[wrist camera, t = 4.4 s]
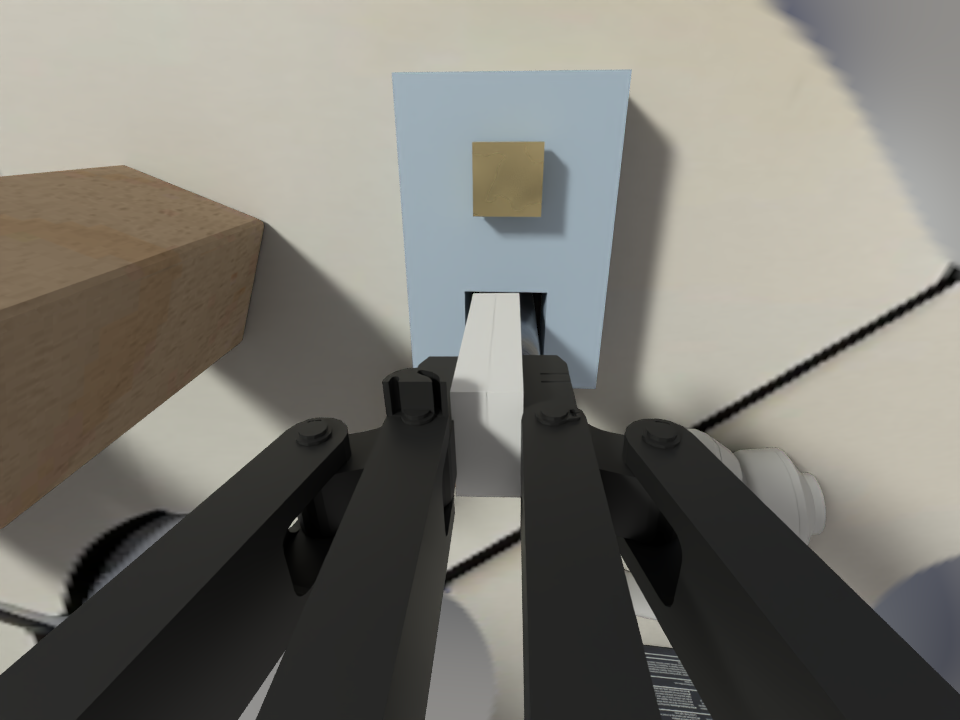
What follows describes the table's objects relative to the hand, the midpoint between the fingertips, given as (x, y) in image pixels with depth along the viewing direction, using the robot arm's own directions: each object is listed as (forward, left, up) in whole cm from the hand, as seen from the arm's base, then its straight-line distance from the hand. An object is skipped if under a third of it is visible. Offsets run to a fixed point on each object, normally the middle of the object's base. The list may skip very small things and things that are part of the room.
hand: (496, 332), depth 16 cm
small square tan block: (0, +4, -17) cm, 18 cm away
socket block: (0, 0, -18) cm, 18 cm away
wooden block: (-23, -2, -18) cm, 29 cm away
